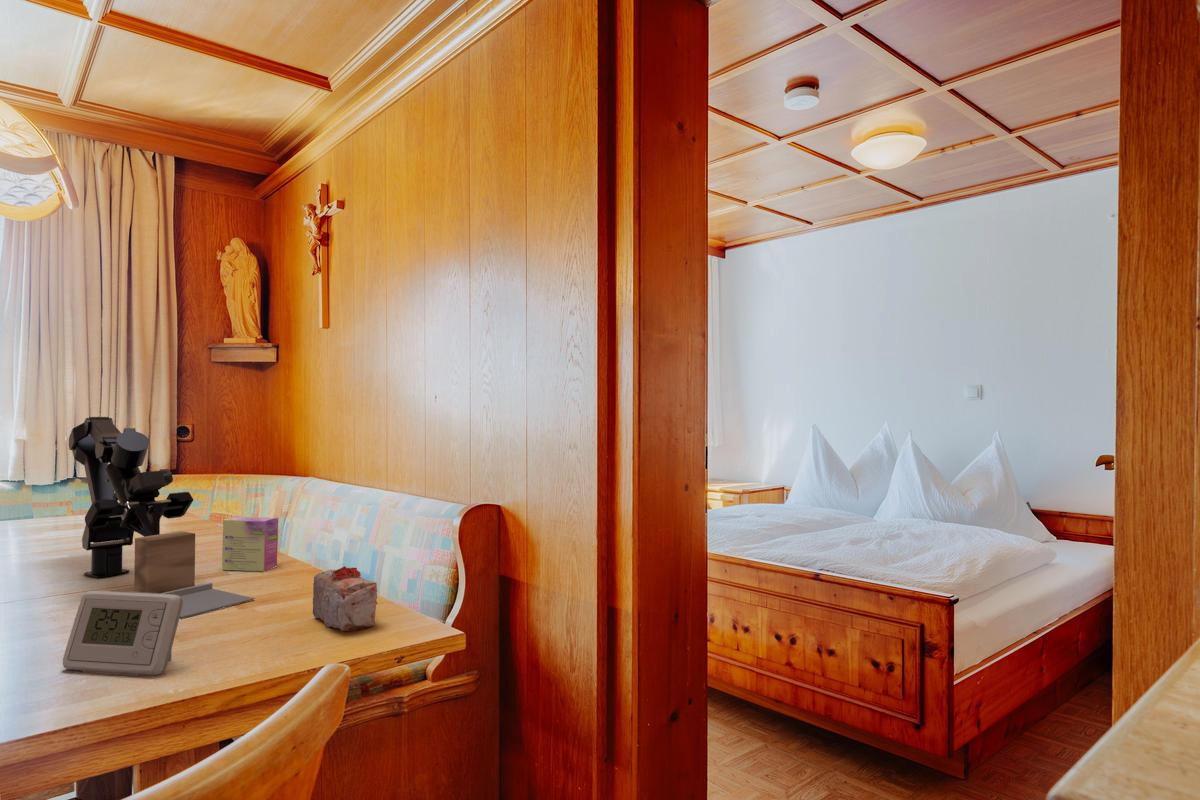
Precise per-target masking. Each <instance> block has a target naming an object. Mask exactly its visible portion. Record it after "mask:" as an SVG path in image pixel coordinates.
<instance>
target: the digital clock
mask: <svg viewBox="0 0 1200 800" xmlns="http://www.w3.org/2000/svg"><path fill="white" fill-rule="evenodd" d="M182 605H183V599H182V597H180V596H178V595H170V594H160V593H148V592H134V591H128V590H126V591H124V590H123V591H122V590H110V591H107V590H106V591H104V590H103V591H102V590H89V591H87V592H85V593H84V594H83V596H82V597H81V599H80V602H79V604H78V608H77V611H76V614H75V618H74V621H73V623H72V627H71V628H72V629H71V631H70V635H69V636H68V640H67V644H66V647H65V650H64V654H63V657H62V658H63V659H62V667H63V668H64V669H67V670H72V671H73V670H74V671H83V673H92V674H105V675H106V674H110V675H121V676H122V675H124V676H139V677H140V676H141V675H150V676H154V675H155V676H156V675H161V674H163V673H164V672H165V671H166V669H167V668H168V665H169V662H170V661H171V660H172V649H173V645H174V641H175V637H176V633H177V629H178V627H179V626H178V625H179V621H180V619H181V618H180V614H181V610H182Z"/></svg>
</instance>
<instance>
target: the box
mask: <svg viewBox="0 0 1200 800" xmlns="http://www.w3.org/2000/svg"><path fill="white" fill-rule="evenodd" d="M278 535H279V517H270V516H269V517H265V516H264V517H261V516H260V517H259V516H237V515H236V516H232V517H228V518H225V519H223V521H222V555H221V556H222V559H221V560H222V561H221V570H222V571H242V572H246V571H247V572H258V571H262V572H261V573H263V572H264V571H265V572H267V571H266V570H268V569H270V570H272V569H271V568H273V567H275V566H277V567H278V549H279V548H278V544H279V540H278V539H279V536H278ZM275 568H276V567H275ZM273 569H274V568H273ZM268 571H269V570H268Z"/></svg>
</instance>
